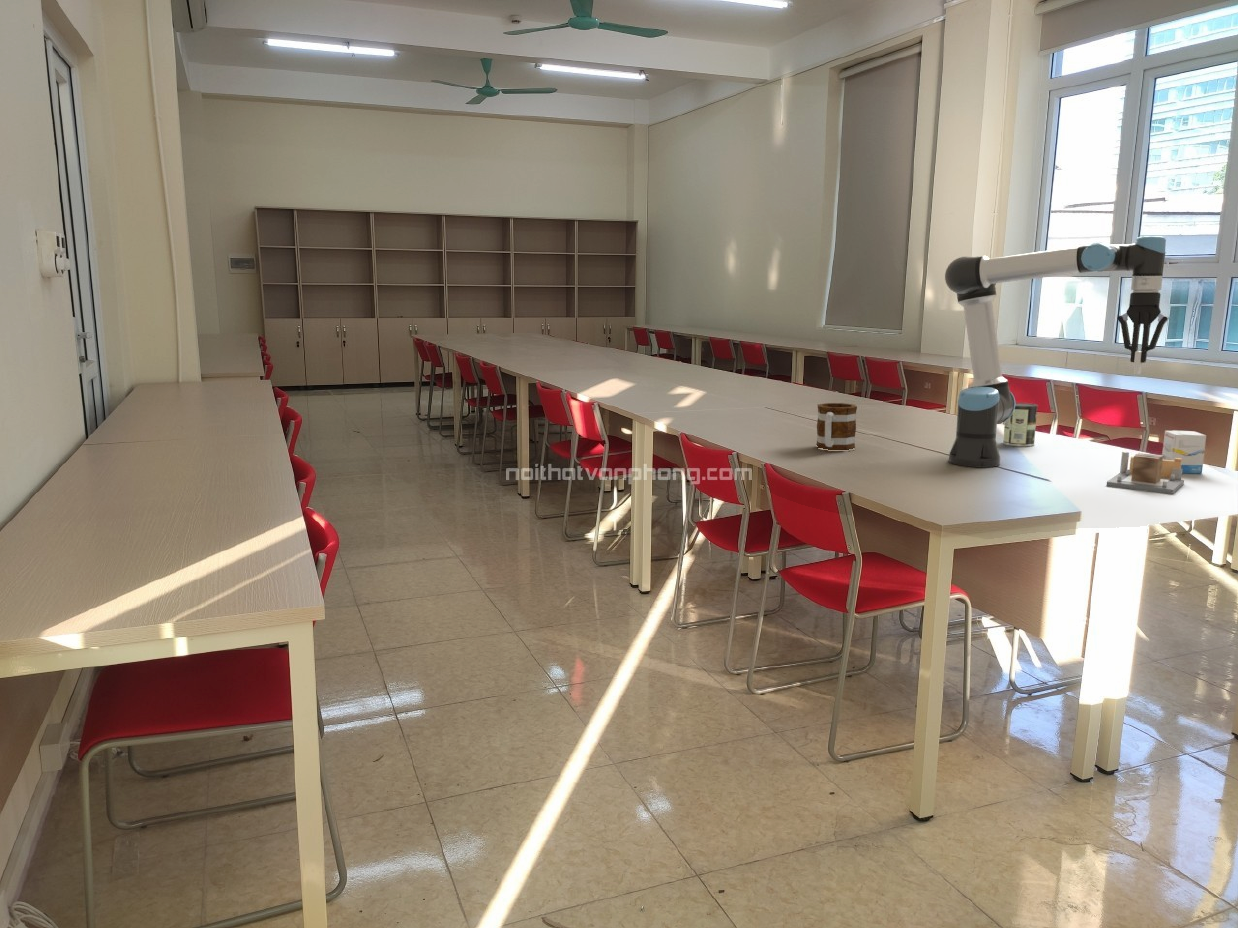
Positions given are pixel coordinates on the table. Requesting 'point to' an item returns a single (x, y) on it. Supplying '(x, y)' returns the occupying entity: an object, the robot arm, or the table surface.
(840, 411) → the mug
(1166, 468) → the lid gate
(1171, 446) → the ink box
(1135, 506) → the table surface
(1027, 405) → the coffee can
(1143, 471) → the walnut block
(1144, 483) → the housing
